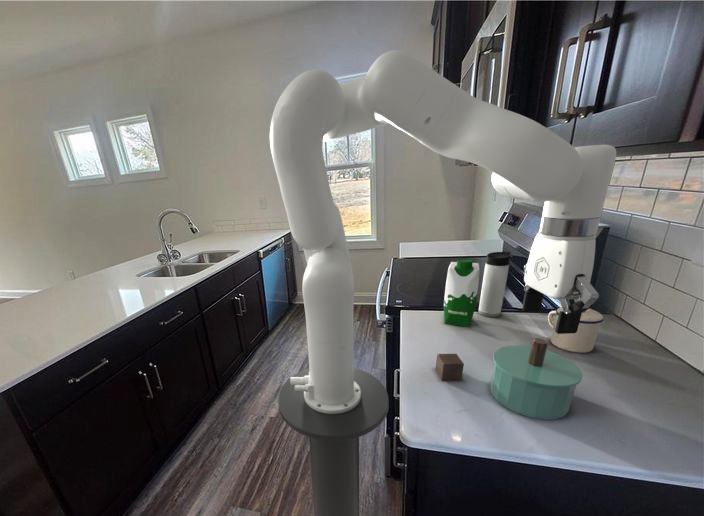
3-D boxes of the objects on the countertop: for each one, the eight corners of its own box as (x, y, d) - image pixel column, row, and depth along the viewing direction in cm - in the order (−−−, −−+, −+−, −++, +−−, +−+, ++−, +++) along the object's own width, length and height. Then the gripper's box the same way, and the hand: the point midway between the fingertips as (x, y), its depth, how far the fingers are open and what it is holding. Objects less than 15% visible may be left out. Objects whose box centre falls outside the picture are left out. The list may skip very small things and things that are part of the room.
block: (441, 380, 72) (443, 364, 70) (435, 369, 76) (437, 353, 74) (461, 380, 71) (464, 363, 70) (454, 369, 75) (456, 353, 74)
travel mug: (506, 315, 101) (517, 253, 94) (488, 318, 99) (498, 256, 92) (490, 308, 107) (500, 249, 99) (473, 311, 105) (482, 252, 98)
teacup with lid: (603, 350, 79) (617, 307, 75) (572, 356, 77) (585, 312, 73) (559, 330, 90) (568, 291, 86) (531, 334, 88) (539, 295, 84)
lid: (516, 391, 56) (523, 361, 54) (480, 350, 70) (484, 325, 67) (602, 390, 55) (612, 360, 53) (548, 349, 68) (554, 323, 66)
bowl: (511, 420, 59) (518, 386, 57) (479, 377, 72) (484, 349, 69) (586, 419, 58) (597, 386, 55) (540, 377, 71) (547, 347, 68)
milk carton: (441, 324, 98) (447, 261, 90) (443, 313, 105) (449, 254, 98) (473, 328, 94) (482, 263, 86) (473, 316, 101) (482, 255, 94)
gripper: (514, 222, 61) (501, 304, 67) (582, 238, 45) (557, 344, 51) (556, 219, 60) (538, 302, 66) (640, 235, 44) (607, 342, 50)
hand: (546, 320), depth 59 cm, fingers open, 9 cm apart
